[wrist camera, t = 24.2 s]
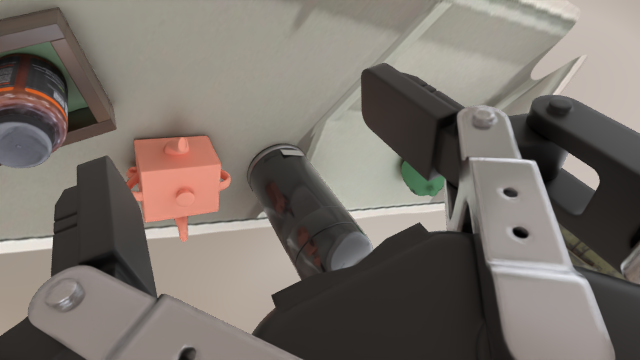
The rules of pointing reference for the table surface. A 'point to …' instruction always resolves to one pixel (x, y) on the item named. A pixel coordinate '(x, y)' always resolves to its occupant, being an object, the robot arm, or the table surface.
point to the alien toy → (420, 181)
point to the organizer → (62, 68)
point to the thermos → (586, 255)
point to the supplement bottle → (31, 110)
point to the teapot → (177, 179)
